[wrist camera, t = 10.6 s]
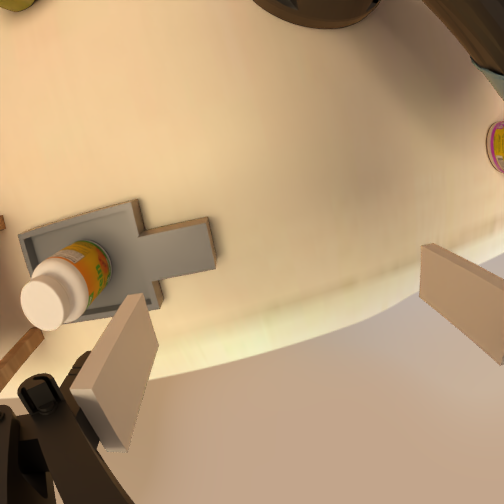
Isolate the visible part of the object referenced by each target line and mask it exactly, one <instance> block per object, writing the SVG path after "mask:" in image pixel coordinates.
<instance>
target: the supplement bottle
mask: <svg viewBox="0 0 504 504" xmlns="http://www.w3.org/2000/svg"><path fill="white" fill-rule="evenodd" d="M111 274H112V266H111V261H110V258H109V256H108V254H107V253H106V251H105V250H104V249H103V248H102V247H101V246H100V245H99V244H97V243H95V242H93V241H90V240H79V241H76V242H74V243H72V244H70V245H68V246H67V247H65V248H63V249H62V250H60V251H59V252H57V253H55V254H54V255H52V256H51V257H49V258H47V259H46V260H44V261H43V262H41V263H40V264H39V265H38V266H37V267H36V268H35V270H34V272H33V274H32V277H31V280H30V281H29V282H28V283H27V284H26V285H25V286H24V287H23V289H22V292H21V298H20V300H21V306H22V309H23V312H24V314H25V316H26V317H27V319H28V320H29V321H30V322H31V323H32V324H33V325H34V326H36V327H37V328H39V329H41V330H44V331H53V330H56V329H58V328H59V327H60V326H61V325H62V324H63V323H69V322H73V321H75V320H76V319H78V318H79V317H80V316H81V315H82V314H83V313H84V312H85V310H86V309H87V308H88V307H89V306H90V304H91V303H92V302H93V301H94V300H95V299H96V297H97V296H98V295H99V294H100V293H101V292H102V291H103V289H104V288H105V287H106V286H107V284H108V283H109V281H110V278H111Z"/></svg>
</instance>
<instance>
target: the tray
mask: <svg viewBox="0 0 504 504" xmlns="http://www.w3.org/2000/svg"><path fill="white" fill-rule="evenodd" d="M18 238H19V241H20V245H21V248H22V252H23V255H24V258H25V262H26V265H27V268H28V271H29V274H30V277H32V274H33V272H34V270H35V268H36V267H37V266H38V265H39V264H40V263H41V262H43V261H44V260H46V259H47V258H49V257H51V256H52V255H54V254H55V253H57V252H59V251H60V250H62V249H63V248H65V247H67V246H68V245H70V244H72V243H74V242H76V241H79V240H90V241H93V242H95V243H97V244H99V245H100V246H101V247H102V248H103V249H104V250H105V251H106V253H107V254H108V256H109V258H110V261H111V266H112V274H111V278H110V281H109V283H108V284H107V286H106V287H105V288H104V289H103V291H102V292H101V293H100V294H99V295H98V296H97V297H96V299H95V300H94V301H93V302H92V303H91V304H90V306H89V307H88V308H87V309H86V310H85V312H84V313H83V314H82V315H81V316H80V317H79V318H78V319H76V320H75V321H73V322H69V323H75V322H82V321H89V320H95V319H102V318H108V317H113V316H114V315H115V313H116V312H117V310H118V309H119V307H120V306H121V304H122V303H123V301H124V300H125V298H126V296H127V295H132V294H139V293H143V295H144V298H145V302H146V305H147V309H148V311H151V310H156V309H160V307H161V305H162V302H163V300H164V298H163V295H162V291H161V288H160V285H159V281H158V280H162V279H167V278H172V277H177V276H182V275H187V274H193V273H198V272H203V271H208V270H213V269H216V261H217V258H216V254H215V249H214V244H213V240H212V235H211V231H210V226H209V221H208V217H204V218H199V219H194V220H190V221H185V222H180V223H176V224H171V225H167V226H162V227H158V228H153V229H149V230H145V229H144V225H143V220H142V216H141V212H140V208H139V203H138V199H135V200H131V201H127V202H123V203H119V204H115V205H112V206H108V207H104V208H101V209H97V210H93V211H90V212H86V213H83V214H79V215H76V216H72V217H69V218H66V219H62V220H59V221H56V222H52V223H49V224H46V225H43V226H40V227H37V228H33V229H30V230H28V231H25V232H23V233H21V234H18ZM69 323H63V324H69Z"/></svg>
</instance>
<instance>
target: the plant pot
mask: <svg viewBox="0 0 504 504" xmlns="http://www.w3.org/2000/svg"><path fill="white" fill-rule="evenodd" d="M34 1H35V0H0V7H1V8H4V9H7V10H10V11H14V12H17V11H21V10H24V9H26V8H28V7H29V6H31V5H32V3H33V2H34Z"/></svg>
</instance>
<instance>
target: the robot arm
mask: <svg viewBox="0 0 504 504" xmlns="http://www.w3.org/2000/svg"><path fill="white" fill-rule="evenodd" d="M253 1H255V2H256V3H257V4H258V5H259V6H261V7H262V8H263V9H265V10H266V11H268V12H270V13H271V14H273V15H275V16H277V17H279V18H281V19H284V20H286V21H289V22H292V23H295V24H298V25H302V26H306V27H312V28H322V29H332V28H341V27H346V26H349V25H352V24H355V23H357V22H359V21H360V20H362V19H363V18H365V17H366V16H367V15H368V14H369V13H370V12H371V11H373V10H374V9H375V8H376V7H377V5H378V4H379V2H380V1H381V0H253ZM422 1H423V2H424V3H425V4H426V5H427V6H428V7H429V8H430V9H431V10H432V11H433V13H434V14H435V15H436V16H437V17H438V18H439V19H440V20H441V21H442V22H443V23H444V24H445V26H446V27H447V28H448V29H449V30H450V31H451V32H452V34H453V35H454V36H455V37H456V38H457V39H458V41H459V42H460V43H461V44H462V46H463V47H464V48H465V49H466V51H467V52H468V53H469V54H470V58H471V61H472V63H473V64H474V66H475V67H476V68H477V69H478V70H480V71H481V72H482V73H483V74H484V75H485V76H486V78H487V79H488V80H489V82H490V83H491V84H492V86H493V87H494V89H495V90H496V91H497V93H498V94H499V96H500V97H501V98H502V99H503V100H504V0H422ZM419 297H420V298H421V299H422V300H424V301H425V302H426V303H428V304H429V305H430V306H431V307H432V308H434V309H435V310H436V311H437V312H438V313H440V314H441V315H442V316H443V317H444V318H446V319H447V320H448V321H449V322H451V323H452V324H453V325H454V326H455V327H457V328H458V329H459V330H460V331H461V332H462V333H464V334H465V335H466V336H467V337H468V338H469V339H471V340H472V341H473V342H474V343H475V344H476V345H477V346H479V347H480V348H481V349H482V350H483V351H484V352H485V353H487V354H488V355H489V356H490V357H491V358H492V359H494V361H496V362H497V363H498V364H499V365H500V366H501V365H503V364H504V279H502V278H500V277H498V276H497V275H495V274H493V273H491V272H489V271H487V270H485V269H484V268H482V267H480V266H478V265H476V264H474V263H472V262H470V261H468V260H466V259H464V258H462V257H460V256H458V255H456V254H454V253H452V252H450V251H448V250H446V249H444V248H442V247H440V246H438V245H436V244H434V243H432V244H427V245H422V246H421V273H420V292H419ZM158 347H159V344H158V341H157V338H156V335H155V332H154V328H153V325H152V322H151V319H150V315H149V312H148V309H147V305H146V302H145V298H144V295H143V293H139V294H132V295H127V296H126V298H125V300H124V301H123V303H122V304H121V306H120V307H119V309H118V310H117V312H116V313H115V315H114V316H113V318H112V319H111V321H110V323H109V324H108V326H107V327H106V329H105V330H104V332H103V334H102V335H101V337H100V338H99V340H98V342H97V343H96V345H95V347H94V348H93V350H92V351H86V352H85V353H84V354H83V355H82V356H80V357H79V358H78V359H77V361H76V362H75V364H74V365H73V367H72V368H73V369H71V370H70V372H69V373H68V376H66V378H65V380H64V381H63V383H62V385H61V386H60V388H59V387H58V385H57V383H56V381H55V380H54V378H53V377H52V376H51V375H50V374H46V373H43V374H37V375H34V376H31V377H30V378H28V379H26V380H25V381H24V382H23V383H22V384H21V385H20V386H19V388H18V392H17V394H18V396H19V398H20V399H21V401H22V403H23V404H24V406H25V407H26V409H27V411H28V412H29V414H27V415H20V416H16V415H15V414H14V412H13V411H12V409H11V408H10V407H9V406H7V405H0V504H56V499H55V492H54V486H53V480H54V483H55V485H56V487H57V489H58V492H59V494H60V496H61V498H62V500H63V503H64V504H135V503H134V502H133V501H132V500H131V498H130V497H129V496H128V494H127V493H126V492H125V490H124V489H123V488H122V486H121V485H120V484H119V482H118V480H117V479H116V478H115V476H114V475H113V473H112V472H111V470H110V469H109V467H108V466H107V464H106V463H105V462H104V460H103V458H102V457H101V455H100V454H99V452H98V451H97V446H98V443H99V441H100V442H101V443H102V445H103V446H104V448H105V449H106V451H107V452H128V450H129V446H130V442H131V438H132V435H133V431H134V427H135V424H136V420H137V417H138V413H139V410H140V406H141V402H142V399H143V396H144V392H145V389H146V385H147V382H148V379H149V376H150V372H151V369H152V366H153V363H154V359H155V356H156V353H157V350H158Z"/></svg>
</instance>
